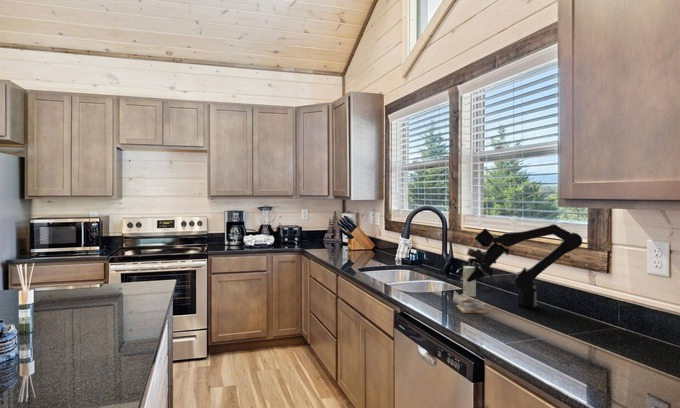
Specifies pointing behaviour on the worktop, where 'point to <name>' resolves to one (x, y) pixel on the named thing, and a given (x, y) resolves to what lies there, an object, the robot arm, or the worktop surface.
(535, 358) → the worktop surface
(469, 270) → the grey-green rectangular block
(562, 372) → the worktop surface
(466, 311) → the hinge clip plate
